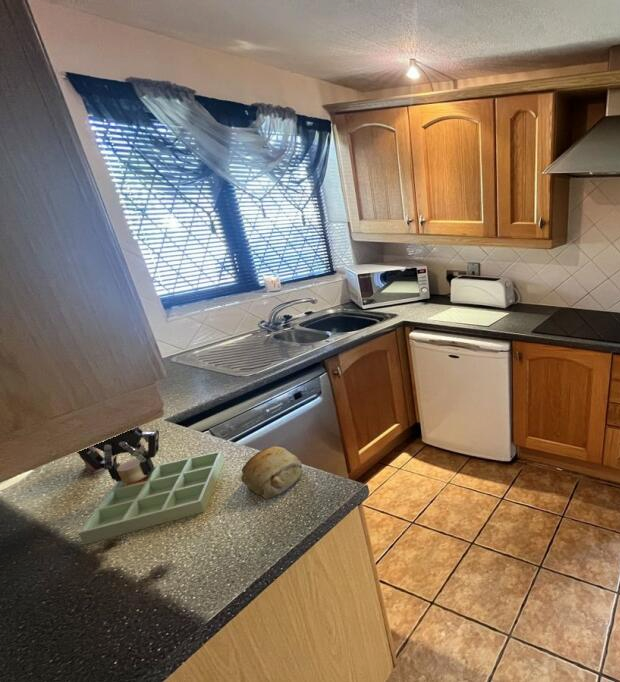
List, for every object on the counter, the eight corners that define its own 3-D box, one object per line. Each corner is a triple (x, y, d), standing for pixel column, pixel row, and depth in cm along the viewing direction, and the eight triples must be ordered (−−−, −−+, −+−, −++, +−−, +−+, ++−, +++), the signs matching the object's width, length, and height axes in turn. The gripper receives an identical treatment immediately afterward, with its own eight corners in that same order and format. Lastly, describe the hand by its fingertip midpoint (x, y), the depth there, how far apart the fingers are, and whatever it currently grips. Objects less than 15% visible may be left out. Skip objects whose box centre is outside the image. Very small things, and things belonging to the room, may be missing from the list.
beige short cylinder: (118, 485, 88) (112, 473, 86) (127, 473, 91) (121, 461, 90) (143, 479, 89) (138, 467, 88) (151, 468, 93) (146, 456, 92)
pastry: (256, 466, 98) (248, 440, 95) (309, 458, 101) (302, 432, 98) (233, 506, 85) (223, 477, 82) (294, 495, 88) (287, 467, 85)
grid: (84, 544, 76) (77, 533, 75) (128, 482, 93) (123, 472, 92) (204, 511, 84) (200, 501, 83) (225, 459, 101) (221, 450, 100)
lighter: (84, 465, 100) (67, 432, 96) (102, 458, 102) (86, 426, 99) (90, 477, 95) (74, 443, 92) (109, 469, 98) (93, 436, 94)
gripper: (154, 398, 90) (177, 458, 96) (73, 412, 85) (102, 475, 91) (141, 413, 84) (167, 476, 90) (52, 429, 78) (85, 495, 84)
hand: (134, 475), depth 90 cm, fingers closed on beige short cylinder, 4 cm apart
